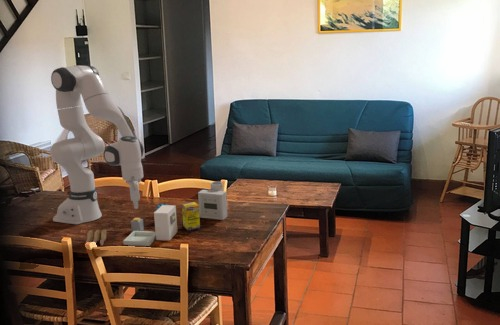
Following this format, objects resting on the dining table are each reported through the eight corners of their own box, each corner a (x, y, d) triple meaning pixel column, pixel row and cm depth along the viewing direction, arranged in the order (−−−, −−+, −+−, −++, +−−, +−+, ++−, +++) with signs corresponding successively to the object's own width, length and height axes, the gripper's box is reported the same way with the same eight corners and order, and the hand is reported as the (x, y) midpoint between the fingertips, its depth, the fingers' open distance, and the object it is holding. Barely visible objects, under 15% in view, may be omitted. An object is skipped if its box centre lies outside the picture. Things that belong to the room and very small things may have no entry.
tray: (123, 245, 216) (123, 240, 215) (134, 235, 226) (133, 230, 226) (148, 246, 214) (148, 241, 213) (158, 236, 224) (158, 231, 224)
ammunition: (88, 229, 223) (84, 236, 215) (106, 228, 223) (102, 235, 215) (90, 239, 224) (85, 247, 216) (107, 238, 224) (103, 246, 216)
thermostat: (199, 217, 245) (197, 186, 241) (212, 207, 258) (211, 178, 254) (223, 220, 240) (221, 188, 237) (235, 210, 253) (234, 180, 249)
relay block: (131, 232, 230) (130, 220, 228) (135, 229, 233) (134, 216, 232) (140, 232, 229) (139, 220, 227) (143, 229, 233) (142, 217, 231)
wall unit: (154, 239, 220) (152, 212, 217) (163, 231, 230) (161, 205, 227) (171, 240, 219) (169, 213, 216) (179, 231, 228) (177, 205, 225)
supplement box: (188, 231, 228) (186, 207, 226) (183, 227, 234) (181, 203, 231) (200, 228, 231) (199, 205, 228) (195, 224, 236) (194, 201, 234)
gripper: (141, 179, 215) (144, 211, 219) (139, 168, 235) (142, 197, 238) (125, 181, 214) (129, 213, 217) (125, 169, 233) (128, 199, 237)
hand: (136, 204), depth 228 cm, fingers open, 8 cm apart
